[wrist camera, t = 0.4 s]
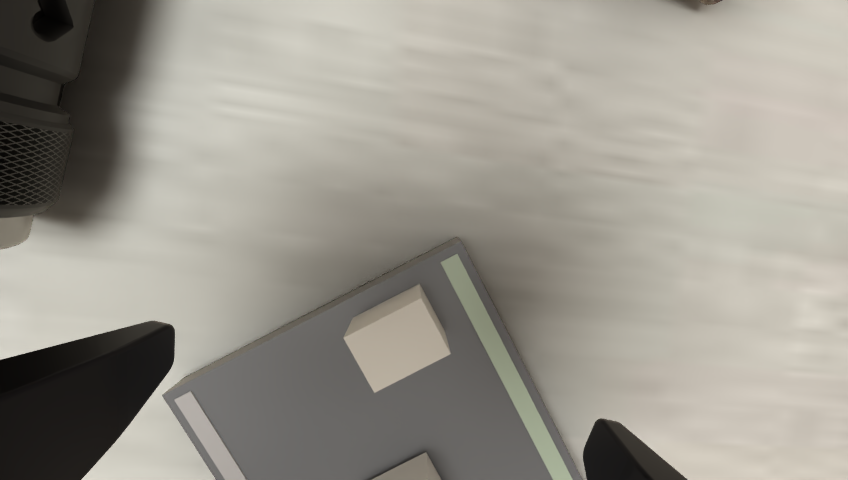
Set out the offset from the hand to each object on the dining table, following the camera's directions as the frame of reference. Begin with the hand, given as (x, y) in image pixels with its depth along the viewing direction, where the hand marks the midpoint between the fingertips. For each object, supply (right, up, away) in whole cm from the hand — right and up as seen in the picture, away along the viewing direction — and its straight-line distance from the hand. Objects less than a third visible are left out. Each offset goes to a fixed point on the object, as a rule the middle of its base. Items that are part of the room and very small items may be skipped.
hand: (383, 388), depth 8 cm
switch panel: (0, -11, +16) cm, 19 cm away
